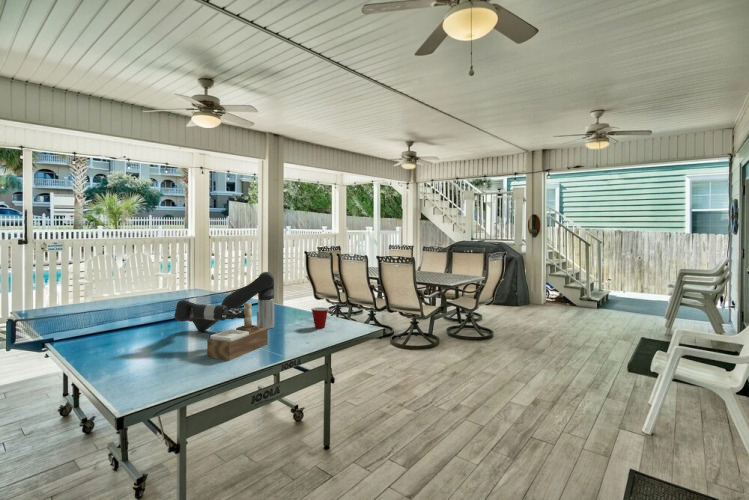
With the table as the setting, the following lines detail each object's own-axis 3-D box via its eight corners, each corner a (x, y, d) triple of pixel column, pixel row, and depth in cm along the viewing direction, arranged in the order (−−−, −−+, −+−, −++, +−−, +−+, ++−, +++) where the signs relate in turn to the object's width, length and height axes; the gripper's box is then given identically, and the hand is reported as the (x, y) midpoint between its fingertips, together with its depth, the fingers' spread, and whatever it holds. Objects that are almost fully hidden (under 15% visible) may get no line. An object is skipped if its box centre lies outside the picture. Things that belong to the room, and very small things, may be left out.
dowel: (242, 331, 193) (242, 303, 192) (247, 329, 196) (247, 302, 196) (248, 332, 192) (248, 304, 191) (253, 330, 195) (253, 302, 194)
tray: (210, 339, 179) (210, 335, 179) (229, 332, 190) (229, 329, 190) (230, 342, 175) (230, 338, 175) (248, 335, 186) (248, 331, 186)
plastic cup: (332, 326, 235) (332, 306, 235) (322, 330, 225) (322, 310, 225) (317, 324, 240) (317, 305, 239) (307, 328, 230) (307, 308, 229)
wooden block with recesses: (207, 357, 178) (207, 335, 178) (247, 341, 203) (247, 322, 203) (229, 360, 173) (229, 338, 173) (267, 344, 198) (267, 324, 198)
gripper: (221, 317, 201) (252, 318, 201) (209, 323, 187) (242, 325, 186) (222, 302, 201) (253, 304, 200) (209, 307, 186) (243, 309, 186)
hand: (248, 314), depth 193 cm, fingers open, 8 cm apart
